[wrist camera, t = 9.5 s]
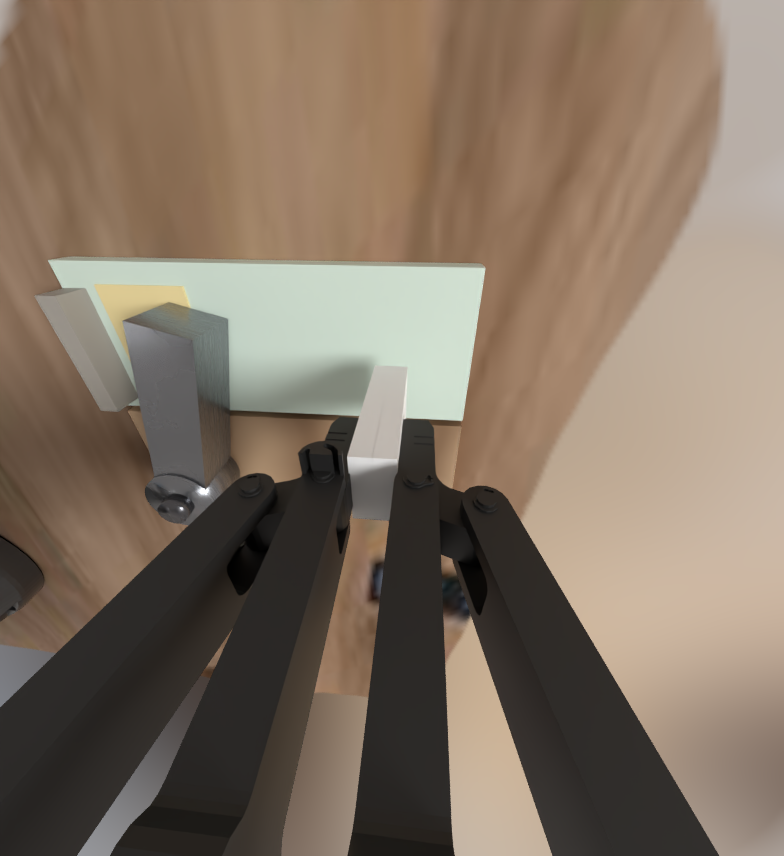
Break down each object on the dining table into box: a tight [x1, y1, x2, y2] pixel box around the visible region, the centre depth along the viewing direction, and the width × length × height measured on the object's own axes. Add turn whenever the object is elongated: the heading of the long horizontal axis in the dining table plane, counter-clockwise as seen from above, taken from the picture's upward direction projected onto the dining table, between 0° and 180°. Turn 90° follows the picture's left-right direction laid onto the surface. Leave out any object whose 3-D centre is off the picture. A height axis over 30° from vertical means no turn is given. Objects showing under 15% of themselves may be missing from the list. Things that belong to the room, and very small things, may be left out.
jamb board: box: [128, 406, 462, 514], centre depth 22 cm, size 20×8×1 cm, turn 90°
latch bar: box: [122, 302, 240, 525], centre depth 18 cm, size 12×4×4 cm, turn 165°
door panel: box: [35, 257, 485, 421], centre depth 17 cm, size 20×8×3 cm, turn 90°
